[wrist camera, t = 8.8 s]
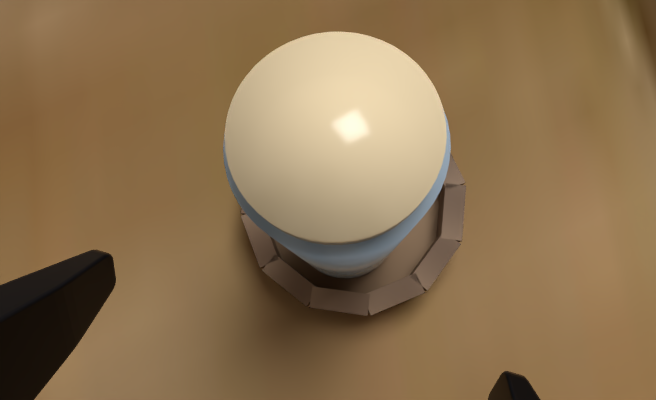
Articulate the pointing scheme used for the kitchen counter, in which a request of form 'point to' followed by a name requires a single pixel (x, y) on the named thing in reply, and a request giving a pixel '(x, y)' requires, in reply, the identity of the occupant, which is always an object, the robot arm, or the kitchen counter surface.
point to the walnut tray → (386, 280)
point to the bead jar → (337, 149)
